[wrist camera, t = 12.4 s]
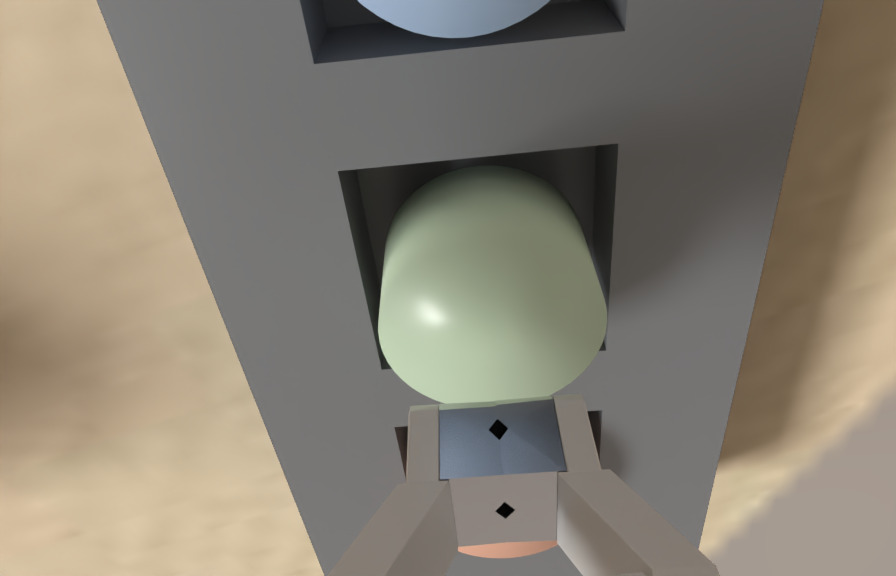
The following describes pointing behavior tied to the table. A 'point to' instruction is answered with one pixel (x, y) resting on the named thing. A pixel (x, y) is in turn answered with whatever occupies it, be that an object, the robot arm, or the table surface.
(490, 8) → the button slate
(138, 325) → the table surface
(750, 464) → the table surface
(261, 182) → the console
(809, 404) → the table surface
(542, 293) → the button sage
